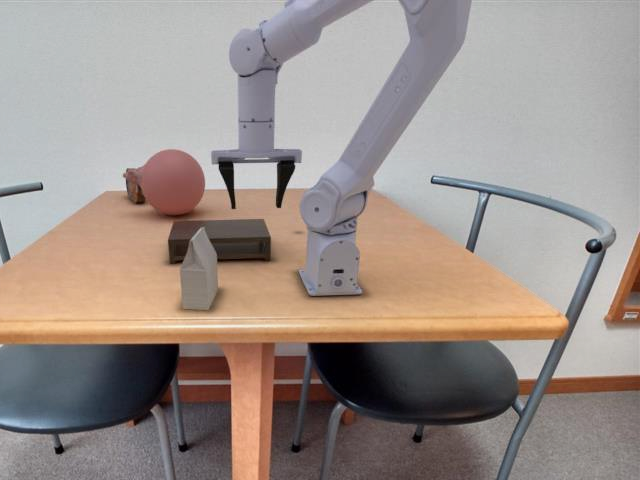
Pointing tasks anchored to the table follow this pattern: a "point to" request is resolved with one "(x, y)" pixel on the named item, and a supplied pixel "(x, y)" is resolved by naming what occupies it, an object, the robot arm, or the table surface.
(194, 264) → the milk carton
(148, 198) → the balloon
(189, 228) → the dark brown low stand
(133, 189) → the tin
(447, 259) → the table surface
